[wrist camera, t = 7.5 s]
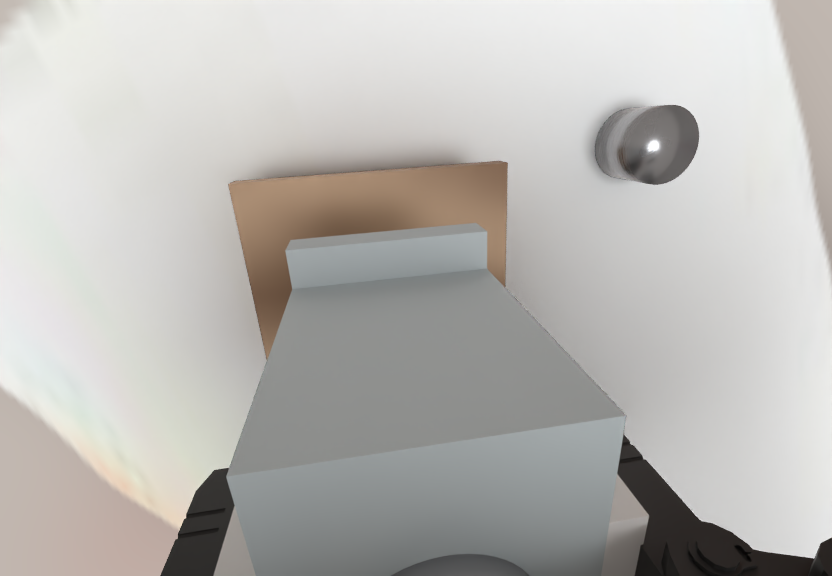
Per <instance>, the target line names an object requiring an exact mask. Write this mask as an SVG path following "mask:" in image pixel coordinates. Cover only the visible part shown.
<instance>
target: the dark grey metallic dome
mask: <svg viewBox="0 0 832 576" xmlns="http://www.w3.org/2000/svg"><path fill="white" fill-rule="evenodd" d="M698 142H699V130H698V125H697V122H696V120H695V118H694V116H693V115H692V114H691V113H690V112H689V111H688V110H687V109H685V108H683V107H681V106H677V105H664V106H650V107H637V108H627V109H623V110H620V111H618V112H616V113H615V114H613V115H612V116H611V117H610V118H609V119H608V120H607V121H606V122H605V123H604V124H603V126H602V127H601V129H600V131H599V133H598V136H597V139H596V144H595V156H596V160H597V163H598V165H599V167H600V168H601V169H602V171H603V172H604V173H606V174H607V175H609V176H611V177H615V178H620V179H626V180H631V181H636V182H642V183H647V184H653V185H658V184H664V183H667V182H669V181H672V180H673V179H675V178H676V177H678V176H679V175H680V174H682V173H683V172H684V171H685V169H686V168H687V167H688V166H689V164H690V163H691V161H692V160H693V158H694V155H695V153H696V150H697V147H698Z"/></svg>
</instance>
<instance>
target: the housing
mask: <svg viewBox="0 0 832 576" xmlns="http://www.w3.org/2000/svg"><path fill="white" fill-rule="evenodd" d="M285 252H286V257H287V263H288V268H289V274H290V279H291V285H292V291H291V294H290V297H289V300H288V303H287V306H286V308H285V311H284V314H283V317H282V320H281V323H280V325H279V328H278V331H277V334H276V337H275V340H274V343H273V345H272V348H271V351H270V354H269V357H268V360H267V362H266V365H265V368H264V371H263V374H262V377H261V379H260V382H259V385H258V388H257V391H256V394H255V396H254V399H253V402H252V405H251V408H250V411H249V413H248V416H247V419H246V422H245V425H244V428H243V430H242V433H241V436H240V439H239V442H238V445H237V447H236V450H235V453H234V456H233V459H232V462H231V464H230V467H229V470H228V473H227V476H226V478H227V481H228V485H229V488H230V491H231V495H232V498H233V501H234V505H235V508H236V511H237V515H238V518H239V521H240V525H241V528H242V531H243V535H244V538H245V541H246V545H247V548H248V551H249V555H250V558H251V561H252V565H253V568H254V571H255V575H256V576H601V572H602V566H603V560H604V553H605V547H606V541H607V534H608V528H609V522H610V516H611V509H612V503H613V497H614V490H615V484H616V478H617V472H618V465H619V459H620V453H621V446H622V440H623V434H624V427H625V421H626V415H625V414H624V413H623V412H622V411H621V410H620V408H619V407H618V406H617V405H616V404H615V403H614V402H613V401H612V400H611V399H610V398H609V397H608V396H607V395H606V394H605V393H604V392H603V391H602V389H601V388H600V387H599V386H598V385H597V384H596V383H595V382H594V381H593V380H592V379H591V378H590V377H589V376H588V375H587V374H586V373H585V372H584V370H583V369H582V368H581V367H580V366H579V365H578V364H577V363H576V362H575V361H574V360H573V359H572V358H571V357H570V356H569V355H568V354H567V353H566V351H565V350H564V349H563V348H562V347H561V346H560V345H559V344H558V343H557V342H556V341H555V340H554V339H553V338H552V337H551V336H550V335H549V334H548V332H547V331H546V330H545V329H544V328H543V327H542V326H541V325H540V324H539V323H538V322H537V321H536V320H535V319H534V318H533V317H532V316H531V315H530V313H529V312H528V311H527V310H526V309H525V308H524V307H523V306H522V305H521V304H520V303H519V302H518V301H517V300H516V299H515V298H514V297H513V296H512V294H511V293H510V292H509V291H508V290H507V289H506V288H505V287H504V286H503V285H502V284H501V283H500V282H499V281H498V280H497V279H496V278H495V277H494V275H493V274H492V273H491V272H490V271H489V270H488V269H487V231H486V230H485V229H484V228H482V227H481V226H480V225H478V224H477V223H469V224H458V225H447V226H437V227H426V228H415V229H404V230H393V231H382V232H372V233H361V234H350V235H339V236H328V237H318V238H307V239H296V240H290V242H289V244H288V246H287V248H286V250H285Z"/></svg>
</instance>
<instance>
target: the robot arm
mask: <svg viewBox="0 0 832 576" xmlns="http://www.w3.org/2000/svg"><path fill="white" fill-rule="evenodd" d="M228 470H229V468H226V469H219V470H214V471H213V472H212V474H211V475H210V476H209V477H208V478H207V479H206V480H205V482H204V483H203V484H202V485H201V486H200V487H199V488H198V490H197V491H196V493H195V495H194V497H193V500H192V502H191V504H190V507H189V509H188V512H187V514H186V519H184V521H183V523H182V526H181V528H180V531H179V533H178V539H176V540H175V542H174V545H173V547H172V549H171V552H170V554H169V557H168V559H167V562H166V564H165V566H164V568H163V571H162V573H161V576H256V575H255V571H254V568H253V565H252V561H251V558H250V555H249V551H248V548H247V545H246V541H245V538H244V535H243V531H242V528H241V525H240V521H239V518H238V515H237V511H236V508H235V505H234V501H233V498H232V495H231V491H230V488H229V485H228V481H227V478H226V476H227V473H228ZM601 576H832V538H830V539H828V540H826V541H824V542H822V543H821V544H820V546H819V549H818V551H817V554H816V556H815V558H814V559H813V558H806V557H798V556H791V555H783V554H776V553H768V552H762V551H757V550H753V549H752V548H751V547H750V546H749V545H748V544H747V543H745V542H744V541H743V540H741V539H740V538H738V537H737V536H736V535H734V534H733V533H732V532H730V531H728V530H725V529H723V528H721V527H719V526H717V525H714V524H712V523H707V522H702V521H700V520H699V519H698V518H697V517H696V516H695V515H694V514H693V512H692V511H691V510H690V509H689V508H688V507H687V506H686V505H685V503H684V502H683V501H682V500H681V499H680V498H679V497H678V495H677V494H676V493H675V492H674V491H673V490H672V489H671V488H670V486H669V485H668V484H667V483H666V482H665V481H664V480H663V479H662V477H661V476H660V475H659V474H658V473H657V472H656V471H655V469H654V468H653V467H652V466H651V465H650V464H649V463H648V462H647V460H644V459H643V457H642V455H641V454H640V453H639V451H638V450H637V449H636V448H635V447H634V446H633V445H631V444H630V441H629V440H628V439H627V438H626V437H625V436H624V434H623V440H622V446H621V453H620V459H619V465H618V472H617V478H616V484H615V490H614V497H613V503H612V509H611V516H610V522H609V528H608V534H607V541H606V547H605V553H604V560H603V566H602V572H601Z"/></svg>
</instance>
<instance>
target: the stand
mask: <svg viewBox="0 0 832 576" xmlns="http://www.w3.org/2000/svg"><path fill="white" fill-rule="evenodd" d="M507 167H508V163H507V162H502V161H492V162H479V163H466V164H453V165H439V166H426V167H413V168H400V169H387V170H374V171H361V172H348V173H335V174H321V175H308V176H295V177H282V178H269V179H256V180H243V181H234V182H232V183H230V184H228V185H229V190H230V194H231V199H232V203H233V208H234V213H235V217H236V222H237V226H238V231H239V235H240V240H241V244H242V249H243V254H244V258H245V263H246V267H247V272H248V276H249V281H250V285H251V290H252V294H253V299H254V304H255V308H256V313H257V317H258V322H259V326H260V331H261V335H262V340H263V345H264V349H265V354H266V358H267V360H268V357H269V354H270V351H271V348H272V345H273V343H274V340H275V337H276V334H277V331H278V328H279V325H280V323H281V320H282V317H283V314H284V311H285V308H286V306H287V303H288V300H289V297H290V294H291V291H292V285H291V279H290V274H289V268H288V263H287V257H286V252H285V250H286V248H287V246H288V244H289V242H290V240H296V239H307V238H318V237H328V236H339V235H350V234H361V233H372V232H382V231H393V230H404V229H415V228H426V227H437V226H447V225H458V224H469V223H477V224H478V225H480V226H481V227H482V228H484V229H485V230H486V231H487V269H488V270H489V271H490V272H491V273H492V274H493V275H494V277H495V278H496V279H497V280H498V281H499V282H500V283H501V284H502V285H503V286H504V287H505V270H506V218H507Z"/></svg>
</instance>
